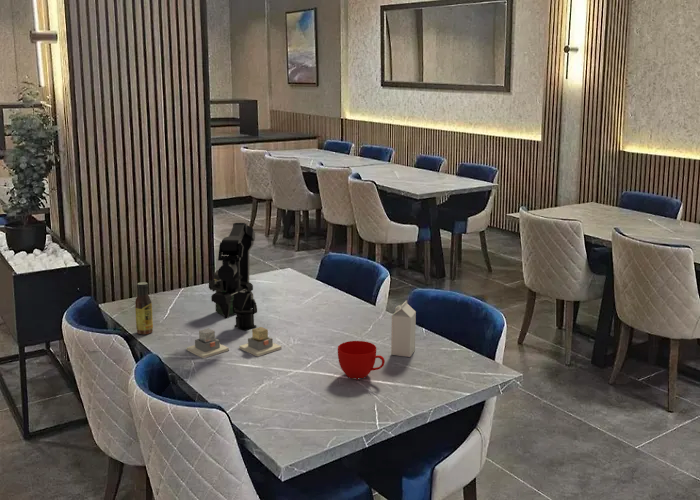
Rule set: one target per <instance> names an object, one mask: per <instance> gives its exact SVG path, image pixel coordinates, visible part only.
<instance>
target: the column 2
mask: <svg viewBox="0 0 700 500" xmlns="http://www.w3.org/2000/svg"><path fill="white" fill-rule="evenodd" d="M251 331H252V332H251V333H252V338H253V340H256V341H258V342H260V341H263V340H267V339H268V337H269V332H268V331H269V330H268V328H265V327H262V326H259V327H254V328H251Z"/></svg>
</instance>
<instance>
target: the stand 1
mask: <svg viewBox="0 0 700 500" xmlns="http://www.w3.org/2000/svg"><path fill="white" fill-rule="evenodd" d="M220 341H221V340H220V339H218V338H216V337H215V341H212V342H209V343H203V342H201V341H200V340H199V338H198V339H196V338H195V339H194V345H190V346H187V347H186V349H185V350H186V351H187V352H190V353H191V354H193V355H195V356H197V357H198V358H199V357H200V358H201V359H206V358H209V357H212V356H216V355H218V354H222V353H225V352H229V351H230V349H229V347H228V346H225V345H224V344H221V343H220Z"/></svg>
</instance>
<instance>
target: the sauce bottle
mask: <svg viewBox="0 0 700 500" xmlns="http://www.w3.org/2000/svg"><path fill="white" fill-rule="evenodd" d="M136 287H137V296H136V299H135V301H134V302H135V303H134V304H135V305H134V306H135V323H136V324H135V325H136V326H135V327H136V332H137V334H138V335H149V334H151V333H153V329H154V322H153V318H154V317H153V304H152V303H153V302H152V300H151V298H150V295H149V288H148V287H149V284H148V282H146V281H143V282H142V281H141V282H138V283H137V284H136Z"/></svg>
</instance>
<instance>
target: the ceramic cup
mask: <svg viewBox="0 0 700 500" xmlns="http://www.w3.org/2000/svg"><path fill="white" fill-rule="evenodd" d="M376 359H380V360H381V364H380V366H377V367H374V366H375V364H376ZM337 360H338V364H339V367H340V369H341V371H342V372H343V373H344V374H345V375H346V377H347V378H349V377H350V378H349V379H351V378H356V379H355V380H359V379H358V378H363V379H365V378H366V377H368V375H369V374H370V373H371V372H373V371H378V370H380V369H381V368H383V367H384V366H385V363H386V360H385V357H383V356H382V355H381V354H380V355H379V354H378V355H377V346H376V345H375V344H374V343H373V342H369V341H365V340H349V341H345V342H342V343H341V344H339V345H337ZM364 377H365V378H364Z"/></svg>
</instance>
